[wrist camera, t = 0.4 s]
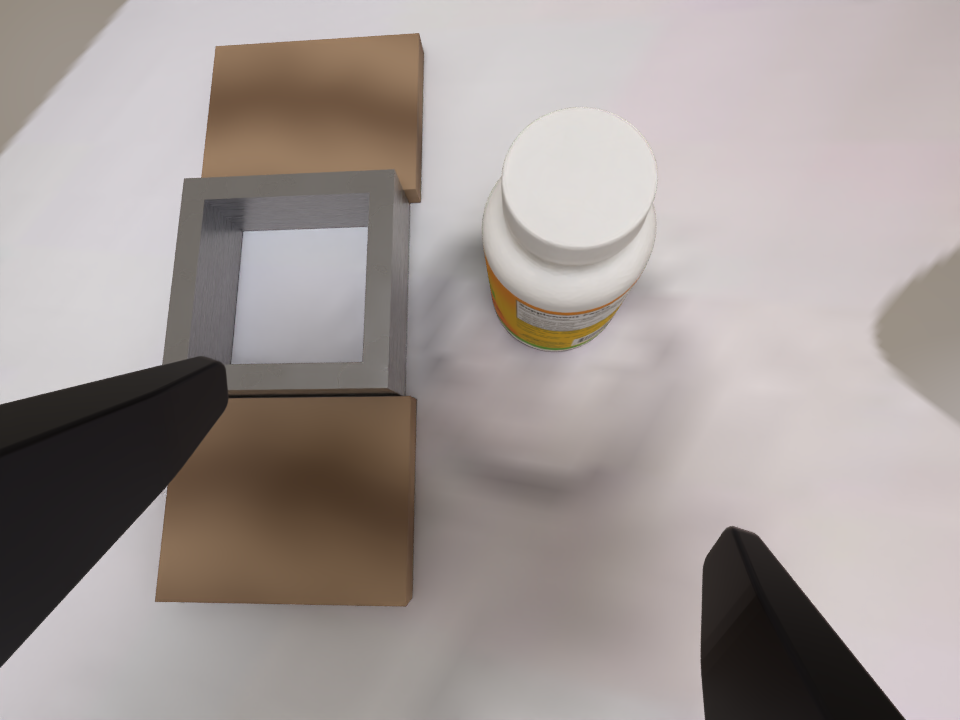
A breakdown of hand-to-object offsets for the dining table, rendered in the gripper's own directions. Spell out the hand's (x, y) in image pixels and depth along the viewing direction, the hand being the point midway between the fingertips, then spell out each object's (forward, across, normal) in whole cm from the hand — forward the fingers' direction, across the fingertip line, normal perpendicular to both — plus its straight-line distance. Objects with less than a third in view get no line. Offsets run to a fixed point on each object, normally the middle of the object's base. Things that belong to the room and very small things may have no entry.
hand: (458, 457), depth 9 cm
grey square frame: (+12, +10, +6) cm, 17 cm away
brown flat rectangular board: (+12, +10, +6) cm, 17 cm away
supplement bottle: (+15, -1, +3) cm, 15 cm away
